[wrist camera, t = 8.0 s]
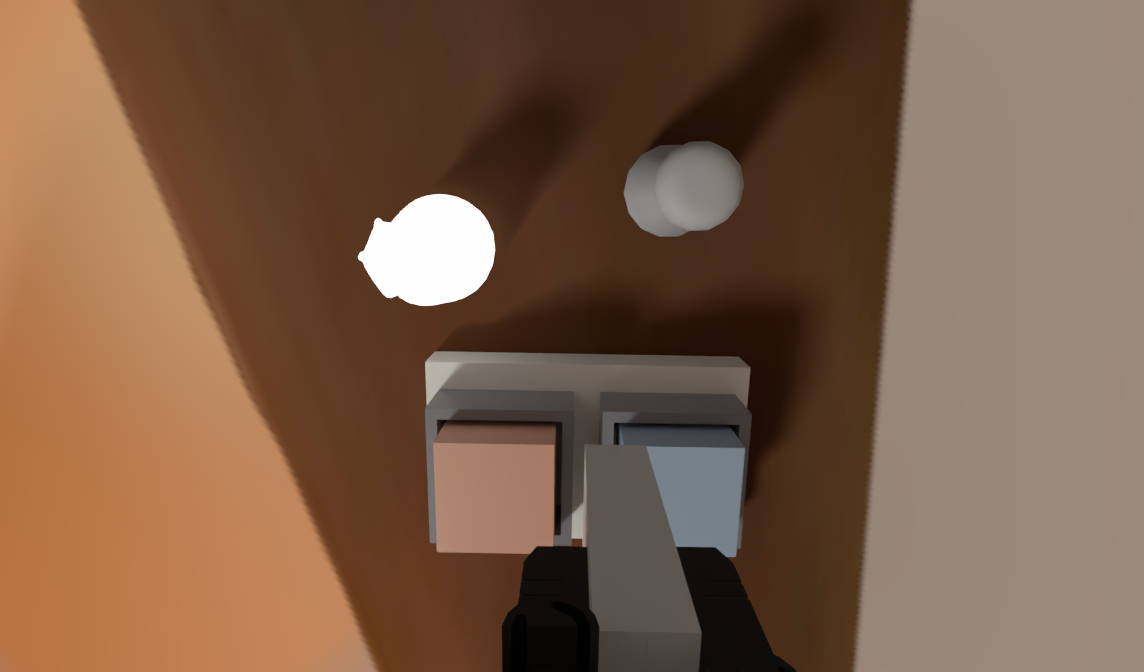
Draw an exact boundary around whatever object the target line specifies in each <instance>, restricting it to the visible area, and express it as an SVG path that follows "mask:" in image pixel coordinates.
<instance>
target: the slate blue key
mask: <svg viewBox="0 0 1144 672" xmlns="http://www.w3.org/2000/svg"><path fill="white" fill-rule="evenodd" d="M617 445H646V448H647V451H648V454H649V458H650V461H651V464H652V468H653V471H654V474H655V478H656V481H657V485H658V488H659V491H660V495H661V498H662V501H663V505H664V508H665V511H666V515H667V518H668V521H669V525H670V528H671V532H672V535H673V538H674V542H675V545H676V547H716V548H717V549H718V550H719V551H720V552H721V553H722V554H724V555H725V556H726V557H736V550H737V538H738V527H739V515H740V503H741V491H742V479H743V468H744V456H745V447H744V446H743V444H742V443H741V442H740V440H739V439H738V437H737V436H736V434H735V433H734V432H733V430H732V429H731V427H730V426H729V425H723V424H666V423H617Z"/></svg>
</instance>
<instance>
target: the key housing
mask: <svg viewBox="0 0 1144 672" xmlns="http://www.w3.org/2000/svg"><path fill="white" fill-rule="evenodd" d="M425 371H426V398H427V407H426V408H425V421H426V448H427V475H428V501H429V528H430V543H437V540H436V511H435V482H434V454H433V442H434V441H435V439H436V437H437V436H438V434H439V432H440V430H441V429H442V427H443V425H444V424H445V422H446V420H495V421H552V422H557V455H556V517H555V534H554V545H571V543H572V538H583V503H584V460H585V444H593V445H617V423H666V424H723V425H729V426H730V427H731V429H732V430H733V432H734V433H735V434H736V436H737V437H738V439H739V440H740V442H741V443H742V444H743V446H744V447H745V456H744V468H743V479H742V491H741V503H740V515H739V527H738V538H737V548H741V537H742V525H743V514H744V502H745V490H746V479H747V467H748V456H749V444H750V432H751V421H752V414H751V412H750V411H749V410H748V409H747V403H748V391H749V379H750V367H749V366H748V365H747V364H746V363H745V362H744V361H743V360H742V359H741V358H739V357H732V356H675V355H618V354H561V353H504V352H447V351H435V352H434V353H433V354H432V355H431V356H430V357H429V358H428V359H427V361H426V362H425Z"/></svg>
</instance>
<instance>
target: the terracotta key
mask: <svg viewBox="0 0 1144 672" xmlns="http://www.w3.org/2000/svg"><path fill="white" fill-rule="evenodd" d="M433 454H434V482H435V511H436V540H437V552H463V553H520V554H531V552H532V551H533V550H534V549H535V548H536V546H554V534H555V517H556V455H557V422H552V421H495V420H446V422H445V424H444V425H443V427H442V429H441V430H440V432H439V434H438V436H437V437H436V439H435V441H434V442H433Z"/></svg>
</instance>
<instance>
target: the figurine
mask: <svg viewBox="0 0 1144 672" xmlns="http://www.w3.org/2000/svg"><path fill="white" fill-rule="evenodd" d="M494 254H495V244H494V235H493V232H492V230H491V228H490V225H489V223H488V221H487V219H486V218H485V217H484V215H483V214H482V213H481V211H480V210H478V209H477V208H476V207H474V206H473V205H472V204H470V203H469V202H467V201H465V200H463V199H461V198H459V197H455V196H451V195H445V194H435V195H428V196H424V197H421V198H418V199H416V200H414V201H413V202H411V203H410V204H408V205H407V206H406V207H405V208H404V209H403V210H402V211H401V212H400V213H399V214H398V215H397V216H396V217H395V218H394V219H393V221H392V222H383V221H382V220H381V219H380V218H377V219H376V220H375V222H374V228H373V230H372V233H371V235H370V238H369V240H368V243H367V245H366V247H365V250H364V251H362V252H360V254H359V256H358V259H359V260H360V261H362V262H363V264H364V266H365V268H366V270H367V272H368V274H369V275H370V277H371V278H372V280H373V281H374V283H375V284H376V286H377V287H378V288H379V290H380V291H381V292H382V294H384V295H385V296H386V297H387V298H392V297H395V296H397V295H398V296H399V297H400V298H401V299H403V300H405V301H406V302H408V303H411V304H416V305H421V306H430V305H437V304H443V303H448V302H452V301H456V300H459V299H462V298H465V297H467V296H468V295H470V294H471V293H473V292H475V291H476V290H477V289H478V288H479V287H480V286H481V285H482V284H483V282H484V281H485V280H486V279H487V276H488V274H489V272H490V270H491V268H492V266H493V260H494Z"/></svg>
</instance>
